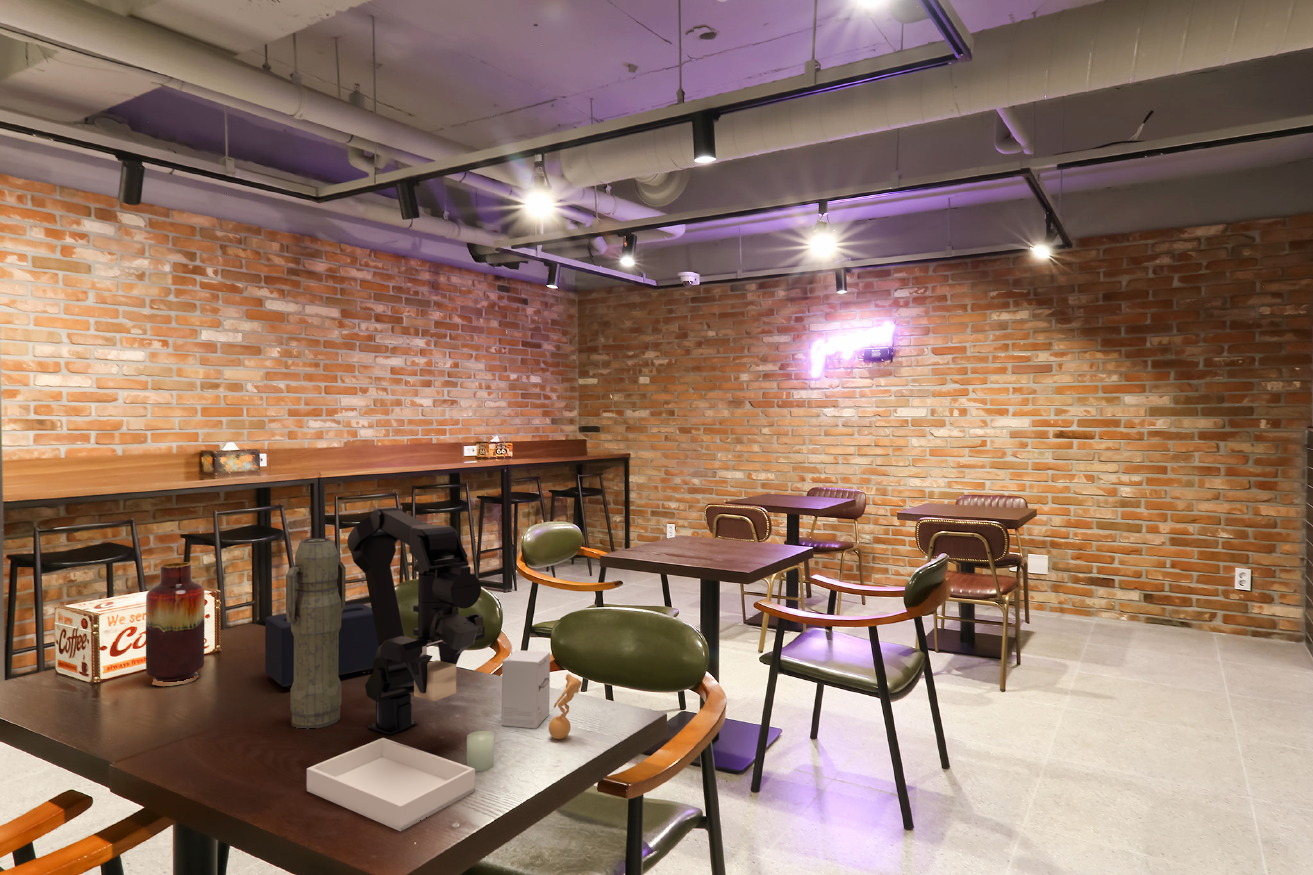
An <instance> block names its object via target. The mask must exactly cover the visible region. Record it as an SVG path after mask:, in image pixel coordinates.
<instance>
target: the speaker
mask: <svg viewBox="0 0 1313 875" xmlns="http://www.w3.org/2000/svg"><path fill="white" fill-rule="evenodd" d="M264 625H265V630H264V631H265V634H264V635H265V638H264V639H265V642H264V643H265V645H264V646H265V650H264V652H265V653H264V656H265V657H264V659H265V662H264V664H265V665H264V666H265V667H264V668H265V669H264V671H265V672H264V673H265V674H266V675H268V676H269V677H270V678H271V679H272V680H274V681H275V682H276V683H277V684H279V685H280V686H281V687H282V688H284V687H285V688H287V689H288V688H291V687H292V684H293V682H294V636H293V634H292V632H291V623H287V619H286V613H284V614H276V615H269V616H266V617H265V624H264ZM378 647H379V644H378V639H377V633H376V628H375V623H374V618H373V613H372V608H371V606H368V605H365V604H364V603H361V602H358V603H352V604H346V608H345V609H344V610H343V612H342V613H341V628H340V631H339V655H338V676H341V675H347V674H353V673H356V672H362V673H363V672H365V673H367V674H369V673H368V672H370V673H371V672H372V669H373V660H374V658H375V655H376V652H377V650H378ZM365 673H364V674H365Z"/></svg>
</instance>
